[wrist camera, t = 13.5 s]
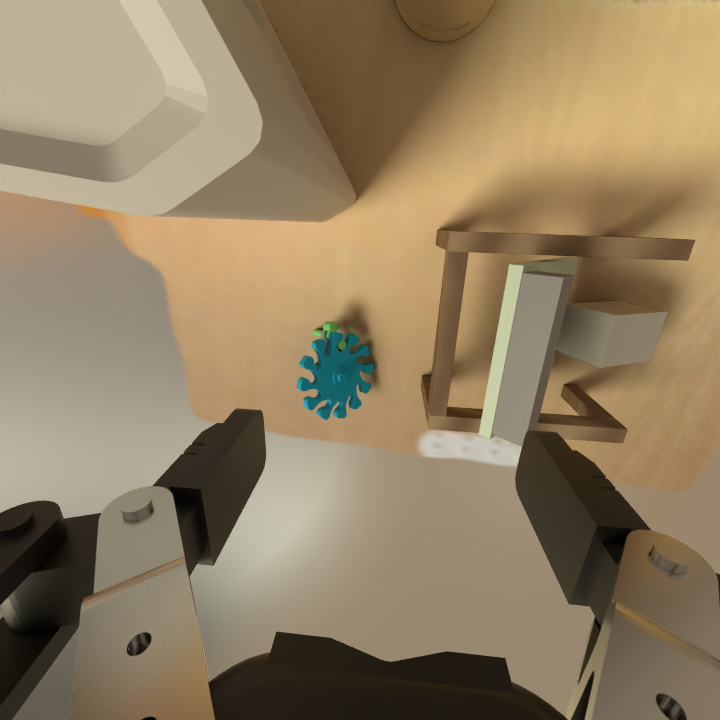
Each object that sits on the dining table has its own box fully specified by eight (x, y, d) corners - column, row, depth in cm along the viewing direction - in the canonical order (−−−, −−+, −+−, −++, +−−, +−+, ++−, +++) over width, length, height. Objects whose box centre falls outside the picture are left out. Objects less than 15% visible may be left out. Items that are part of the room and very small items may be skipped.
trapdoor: (478, 434, 30) (521, 453, 27) (509, 264, 25) (565, 269, 22) (536, 386, 39) (572, 397, 37) (567, 256, 34) (610, 259, 32)
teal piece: (378, 409, 43) (307, 433, 36) (348, 397, 47) (280, 417, 41) (376, 317, 40) (299, 327, 34) (344, 315, 45) (272, 323, 38)
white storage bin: (133, 94, 34) (-679, -317, 8) (254, -9, 31) (-511, -1311, 5) (245, 270, 40) (-37, 357, 14) (359, 200, 36) (275, 136, 10)
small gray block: (615, 315, 31) (668, 311, 33) (567, 303, 35) (616, 300, 37) (599, 368, 33) (650, 361, 35) (555, 350, 37) (603, 345, 39)
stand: (421, 387, 43) (428, 429, 34) (437, 229, 36) (451, 231, 28) (573, 396, 42) (622, 443, 33) (619, 236, 35) (695, 239, 26)
